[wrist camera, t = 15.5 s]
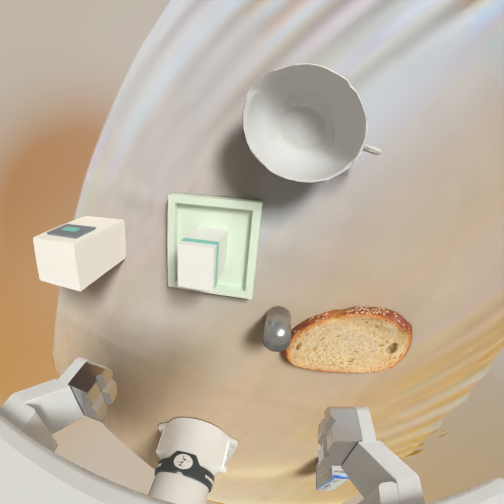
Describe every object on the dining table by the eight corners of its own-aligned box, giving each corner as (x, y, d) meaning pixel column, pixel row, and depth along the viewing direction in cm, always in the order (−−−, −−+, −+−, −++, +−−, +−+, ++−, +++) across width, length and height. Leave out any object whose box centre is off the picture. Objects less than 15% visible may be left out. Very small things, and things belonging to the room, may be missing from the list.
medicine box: (330, 464, 54) (332, 491, 46) (315, 462, 54) (315, 490, 46) (346, 450, 52) (349, 478, 44) (330, 448, 52) (332, 478, 44)
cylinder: (288, 328, 42) (288, 353, 36) (264, 325, 42) (261, 349, 36) (292, 307, 40) (292, 331, 35) (267, 304, 41) (264, 328, 35)
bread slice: (271, 345, 43) (269, 360, 40) (358, 268, 38) (364, 279, 34) (341, 394, 46) (343, 409, 42) (420, 334, 40) (428, 347, 37)
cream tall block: (126, 261, 41) (81, 295, 30) (87, 254, 42) (40, 283, 30) (124, 216, 39) (73, 240, 27) (84, 213, 39) (32, 234, 28)
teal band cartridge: (226, 265, 38) (212, 292, 31) (197, 261, 39) (177, 286, 31) (229, 228, 37) (214, 248, 29) (198, 225, 37) (177, 243, 29)
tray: (253, 292, 40) (252, 299, 38) (173, 280, 41) (168, 286, 39) (263, 200, 36) (262, 203, 34) (173, 192, 37) (168, 194, 35)
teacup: (237, 158, 34) (224, 158, 27) (268, 69, 30) (264, 47, 23) (349, 199, 34) (366, 210, 27) (380, 111, 30) (403, 101, 23)
